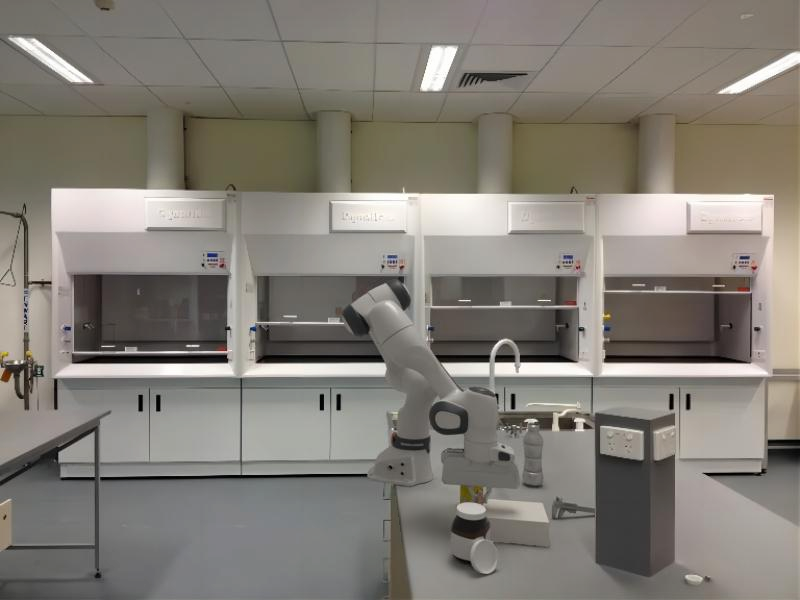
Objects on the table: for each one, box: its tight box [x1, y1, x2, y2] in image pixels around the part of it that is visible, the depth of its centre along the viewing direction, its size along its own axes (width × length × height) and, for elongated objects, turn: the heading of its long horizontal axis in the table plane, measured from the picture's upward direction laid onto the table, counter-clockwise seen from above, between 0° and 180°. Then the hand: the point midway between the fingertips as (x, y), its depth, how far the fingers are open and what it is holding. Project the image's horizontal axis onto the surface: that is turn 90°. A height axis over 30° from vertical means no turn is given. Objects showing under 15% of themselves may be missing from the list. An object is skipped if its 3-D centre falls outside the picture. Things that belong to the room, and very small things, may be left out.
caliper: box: [551, 496, 596, 520], centre depth 140 cm, size 20×1×6 cm, turn 101°
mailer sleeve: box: [482, 498, 550, 548], centre depth 129 cm, size 16×12×6 cm
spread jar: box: [450, 502, 499, 575], centre depth 114 cm, size 12×11×12 cm
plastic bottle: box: [522, 422, 544, 487], centre depth 163 cm, size 6×7×20 cm
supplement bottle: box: [459, 485, 484, 504], centre depth 144 cm, size 7×7×13 cm
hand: (479, 502), depth 130 cm, fingers closed
